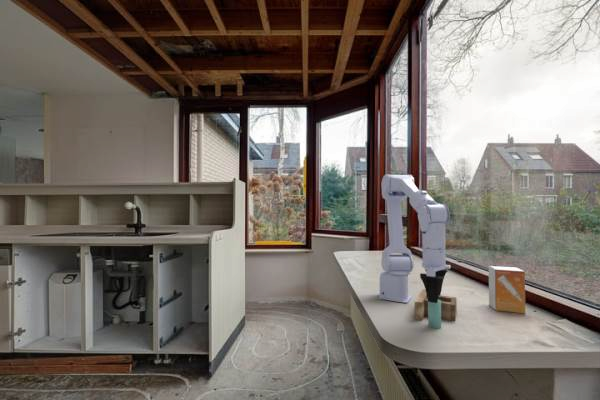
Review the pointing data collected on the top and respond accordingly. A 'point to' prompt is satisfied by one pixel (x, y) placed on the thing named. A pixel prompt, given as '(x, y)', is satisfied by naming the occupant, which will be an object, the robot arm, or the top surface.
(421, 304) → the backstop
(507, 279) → the small box
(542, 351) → the top surface
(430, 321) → the dowel
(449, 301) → the block
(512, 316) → the top surface
